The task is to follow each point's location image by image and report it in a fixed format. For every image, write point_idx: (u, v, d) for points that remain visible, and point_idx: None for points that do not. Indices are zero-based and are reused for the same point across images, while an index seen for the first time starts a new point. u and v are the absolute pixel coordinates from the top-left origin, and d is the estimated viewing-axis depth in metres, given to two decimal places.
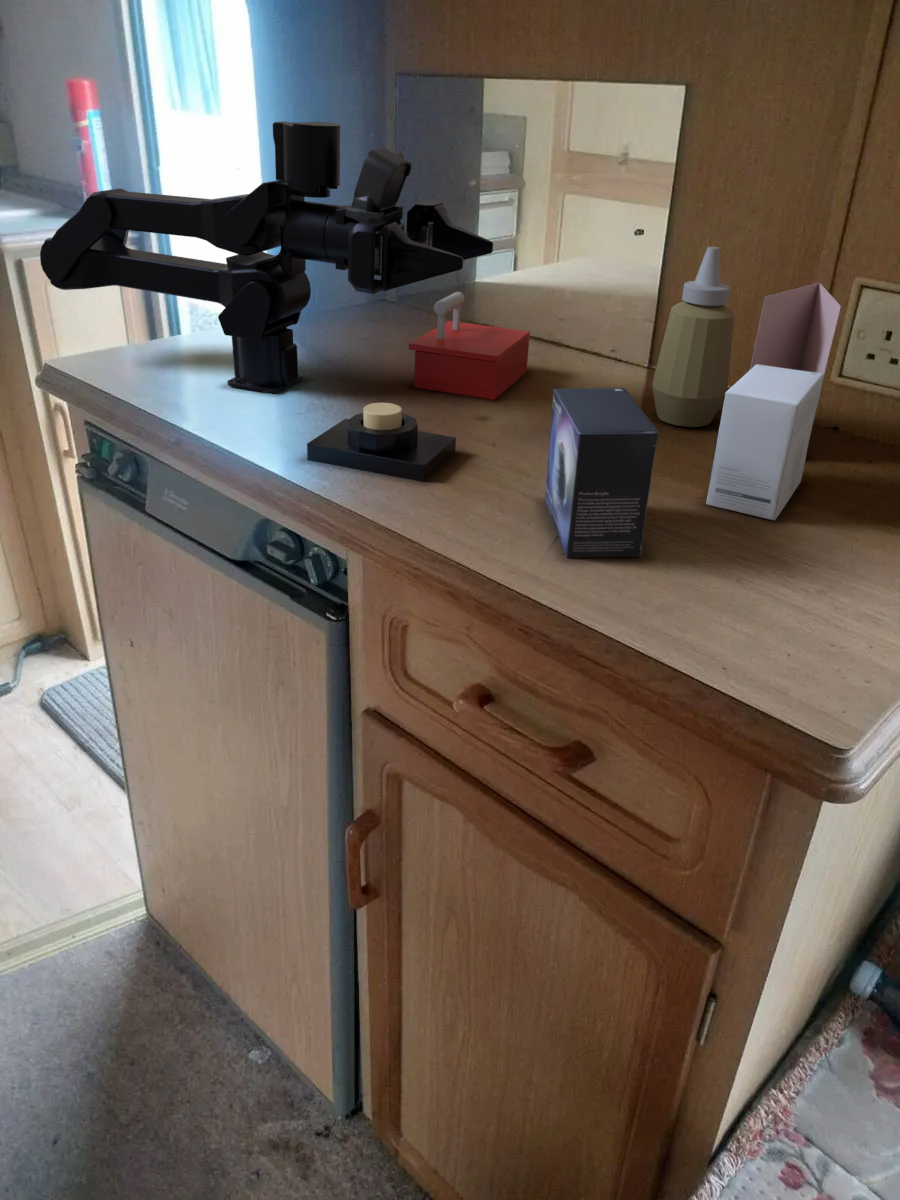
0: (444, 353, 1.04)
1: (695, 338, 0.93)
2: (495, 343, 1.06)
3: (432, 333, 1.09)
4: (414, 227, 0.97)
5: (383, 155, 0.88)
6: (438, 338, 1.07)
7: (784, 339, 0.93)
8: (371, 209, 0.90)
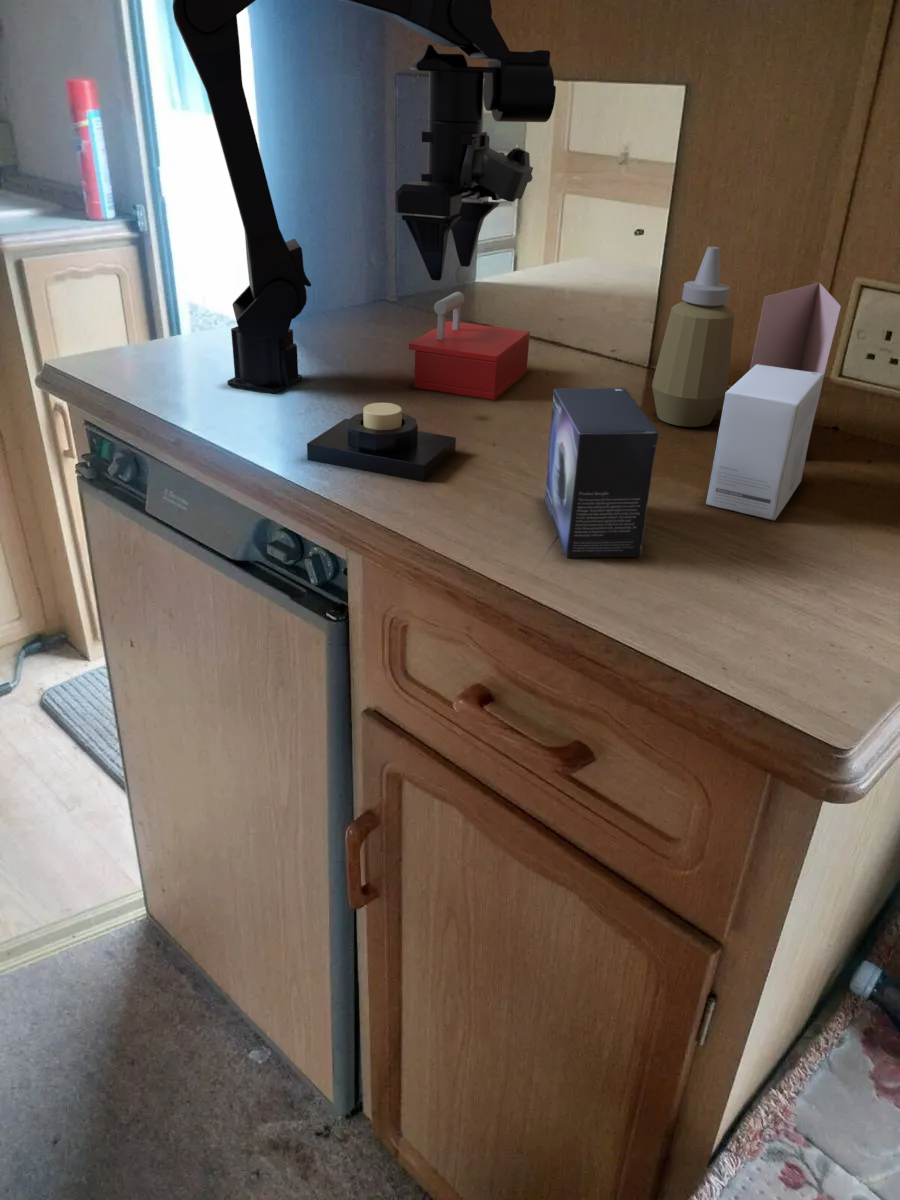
0: (444, 353, 1.04)
1: (695, 338, 0.93)
2: (495, 343, 1.06)
3: (432, 333, 1.09)
4: None
5: (521, 183, 0.97)
6: (438, 338, 1.07)
7: (784, 339, 0.93)
8: (474, 176, 0.97)
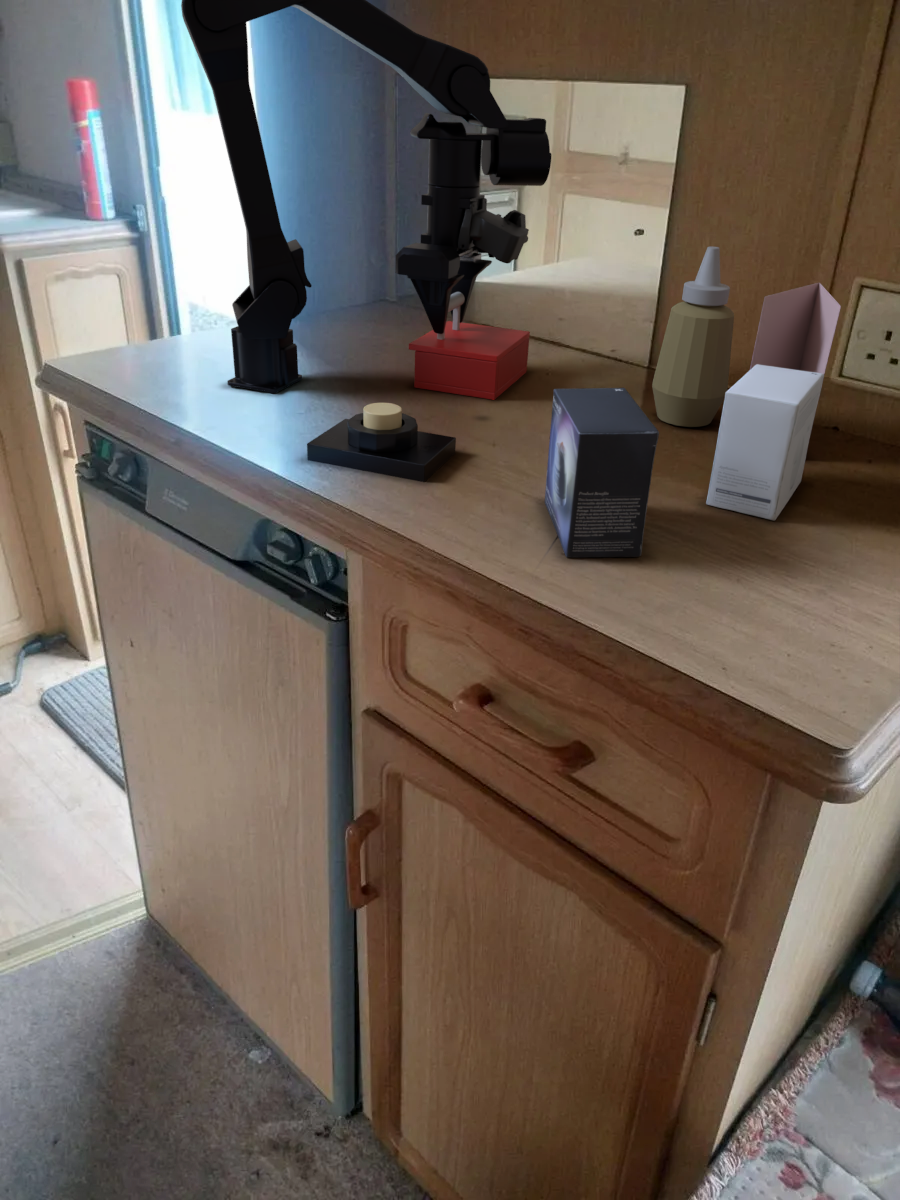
0: (444, 353, 1.04)
1: (695, 338, 0.93)
2: (495, 343, 1.06)
3: (432, 333, 1.09)
4: None
5: (517, 246, 1.01)
6: (438, 338, 1.07)
7: (784, 339, 0.93)
8: (472, 238, 1.00)
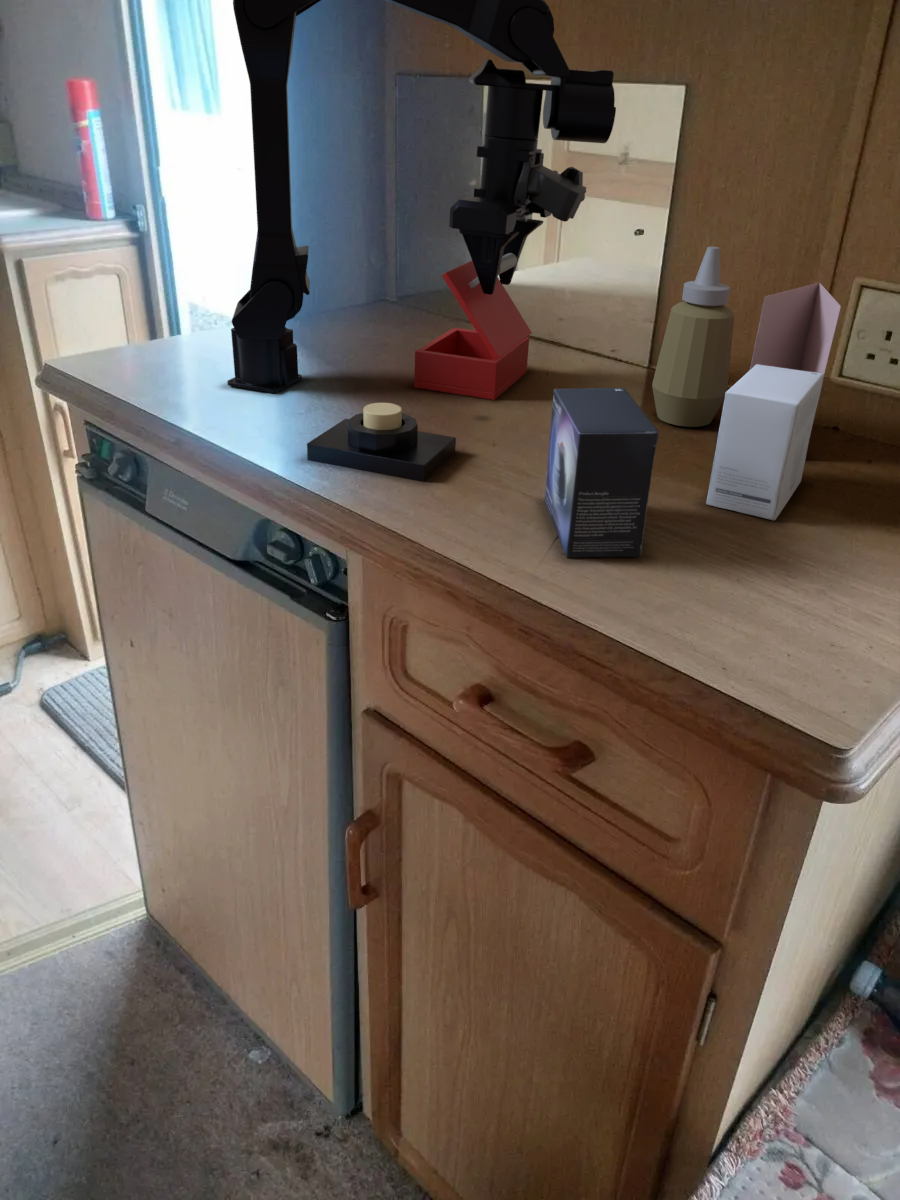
0: (464, 310, 1.01)
1: (695, 338, 0.93)
2: (504, 333, 1.05)
3: (467, 269, 1.04)
4: None
5: (575, 203, 0.96)
6: (469, 284, 1.03)
7: (784, 339, 0.93)
8: (529, 194, 0.96)
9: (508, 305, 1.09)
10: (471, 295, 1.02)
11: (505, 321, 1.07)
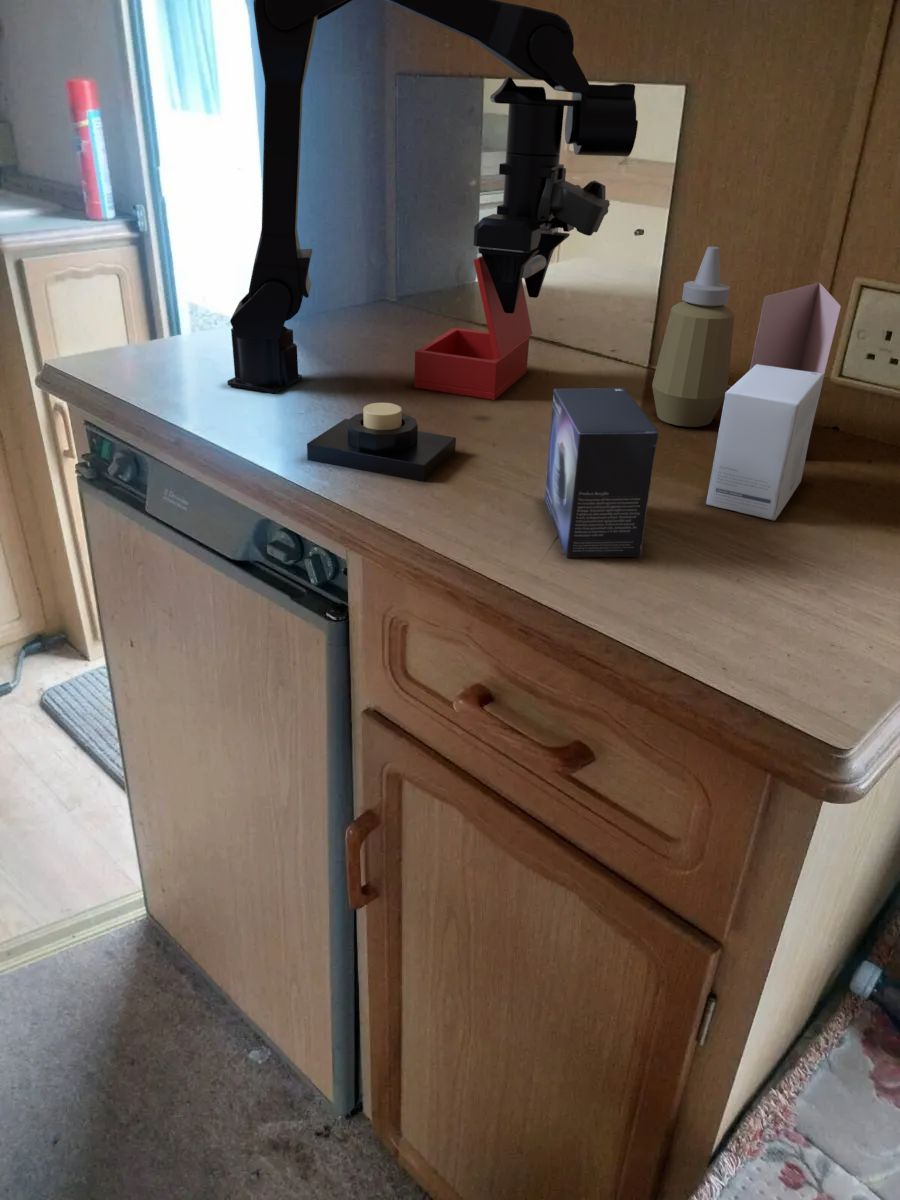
0: (483, 301, 0.99)
1: (695, 338, 0.93)
2: (510, 331, 1.05)
3: None
4: None
5: (599, 217, 0.96)
6: None
7: (784, 339, 0.93)
8: (552, 209, 0.96)
9: (520, 301, 1.09)
10: (493, 287, 1.01)
11: (514, 319, 1.06)
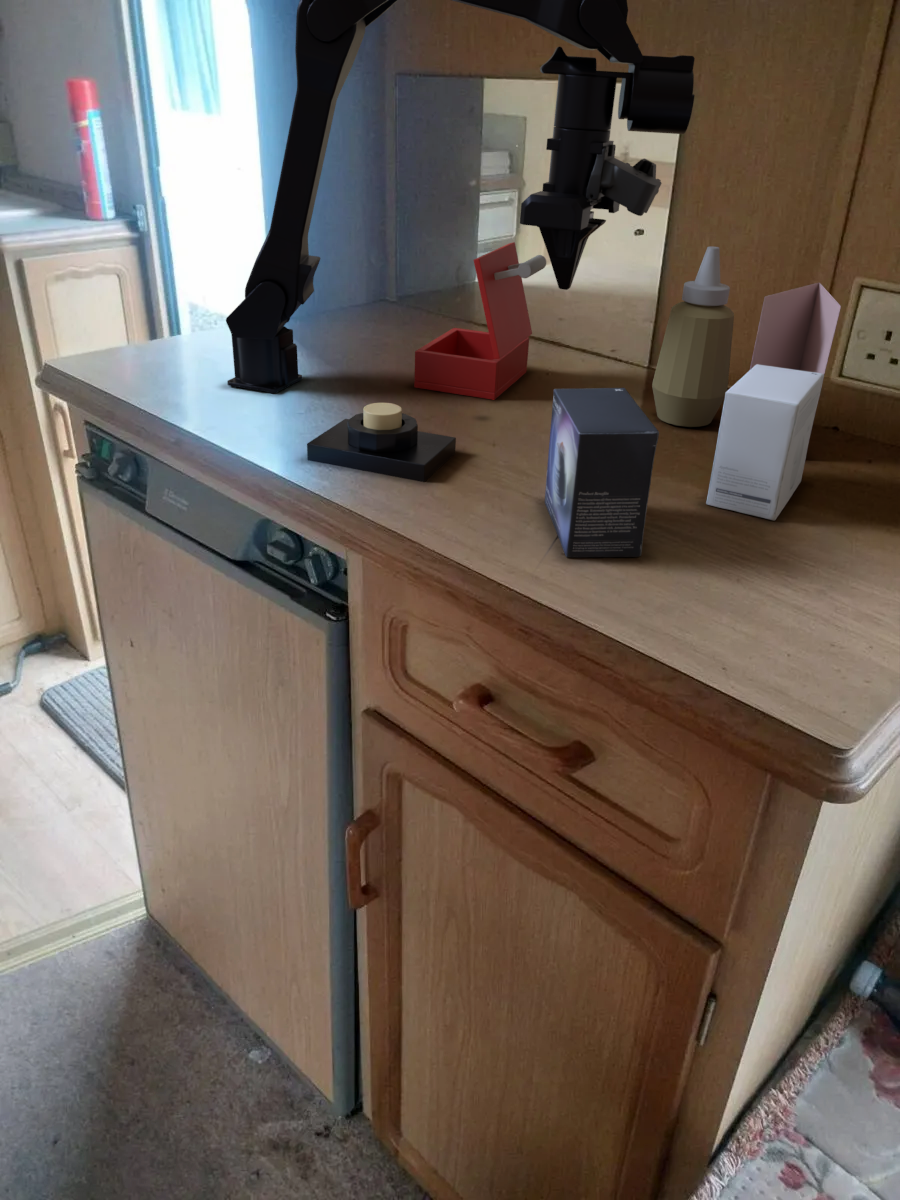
0: (483, 301, 0.99)
1: (695, 338, 0.93)
2: (510, 331, 1.05)
3: (497, 256, 1.02)
4: None
5: (651, 196, 0.91)
6: (495, 275, 1.01)
7: (784, 339, 0.93)
8: (602, 187, 0.91)
9: (520, 301, 1.09)
10: (493, 287, 1.01)
11: (514, 319, 1.06)
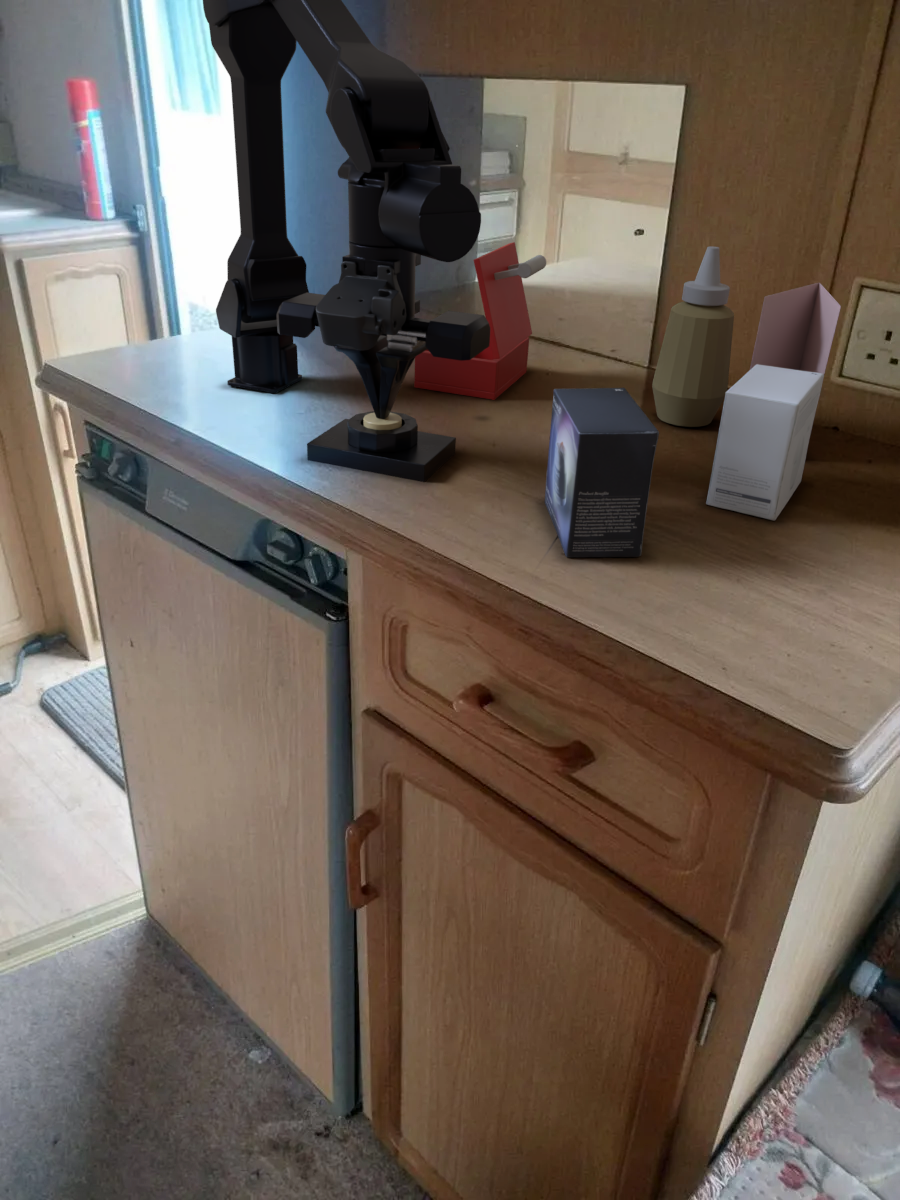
0: (483, 301, 0.99)
1: (695, 338, 0.93)
2: (510, 331, 1.05)
3: (497, 256, 1.02)
4: None
5: (328, 326, 0.74)
6: (495, 275, 1.01)
7: (784, 339, 0.93)
8: None
9: (520, 301, 1.09)
10: (493, 287, 1.01)
11: (514, 319, 1.06)
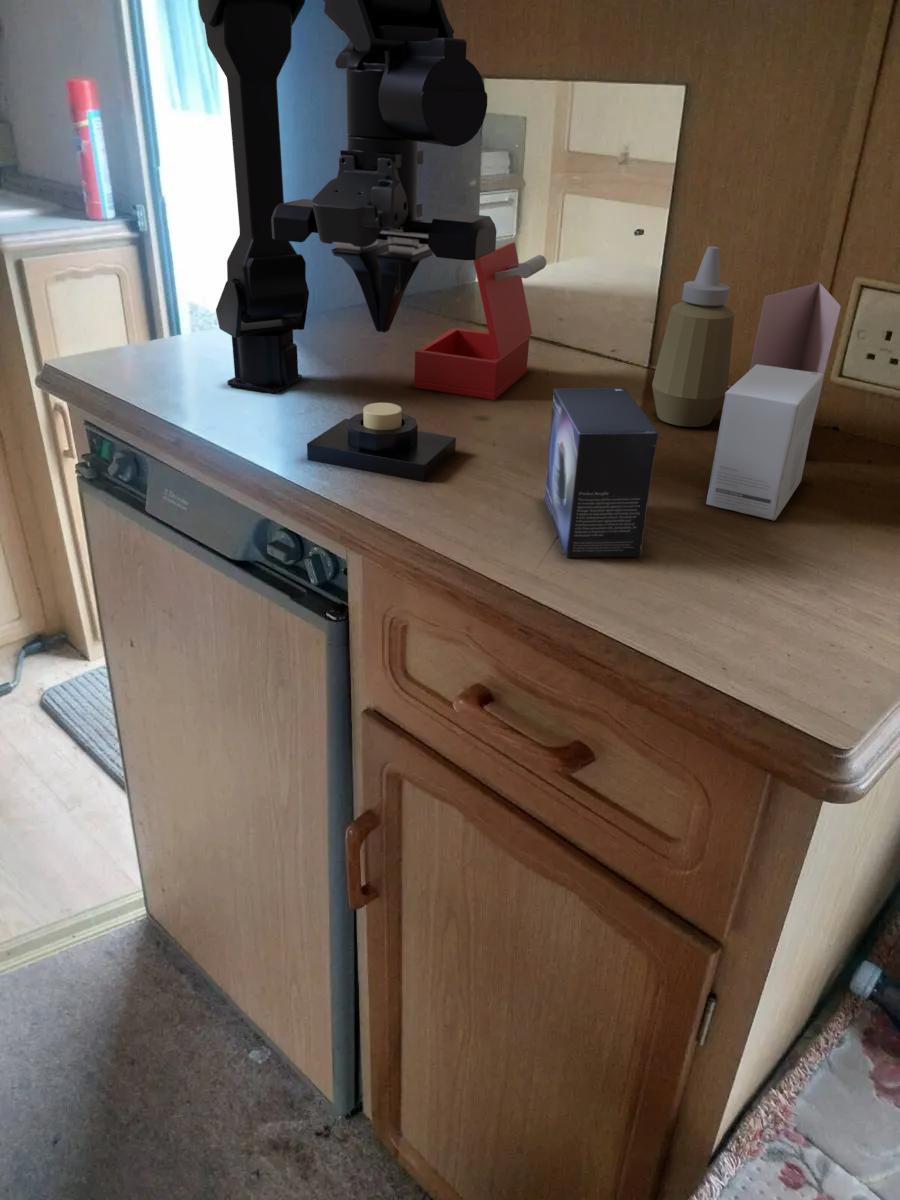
0: (483, 301, 0.99)
1: (695, 338, 0.93)
2: (510, 331, 1.05)
3: (497, 256, 1.02)
4: None
5: (326, 220, 0.70)
6: (495, 275, 1.01)
7: (784, 339, 0.93)
8: None
9: (520, 301, 1.09)
10: (493, 287, 1.01)
11: (514, 319, 1.06)
